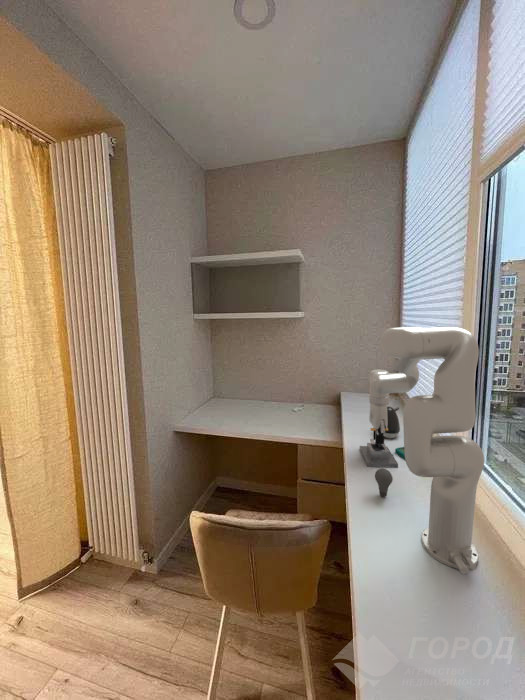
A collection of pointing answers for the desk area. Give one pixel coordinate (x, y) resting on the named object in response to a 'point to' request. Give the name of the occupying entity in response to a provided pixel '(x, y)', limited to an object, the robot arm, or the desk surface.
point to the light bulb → (383, 480)
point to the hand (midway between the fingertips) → (378, 441)
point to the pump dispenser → (392, 423)
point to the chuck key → (375, 438)
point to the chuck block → (377, 456)
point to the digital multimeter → (400, 452)
